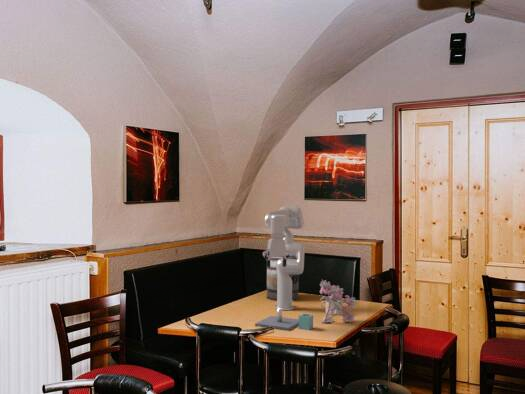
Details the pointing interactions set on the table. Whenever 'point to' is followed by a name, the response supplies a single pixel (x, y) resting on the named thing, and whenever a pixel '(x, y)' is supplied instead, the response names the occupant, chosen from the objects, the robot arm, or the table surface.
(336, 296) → the flower
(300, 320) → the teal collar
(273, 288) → the barrel
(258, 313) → the table surface
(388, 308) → the table surface
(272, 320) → the base plate
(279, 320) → the duct stub
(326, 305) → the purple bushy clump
